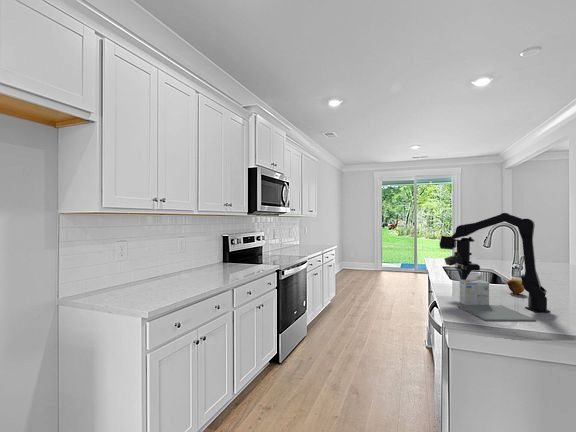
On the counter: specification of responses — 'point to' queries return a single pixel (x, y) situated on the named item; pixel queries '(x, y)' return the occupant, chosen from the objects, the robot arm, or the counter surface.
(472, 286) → the light bulb box
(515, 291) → the fruit
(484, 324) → the counter surface
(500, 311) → the slate mat
